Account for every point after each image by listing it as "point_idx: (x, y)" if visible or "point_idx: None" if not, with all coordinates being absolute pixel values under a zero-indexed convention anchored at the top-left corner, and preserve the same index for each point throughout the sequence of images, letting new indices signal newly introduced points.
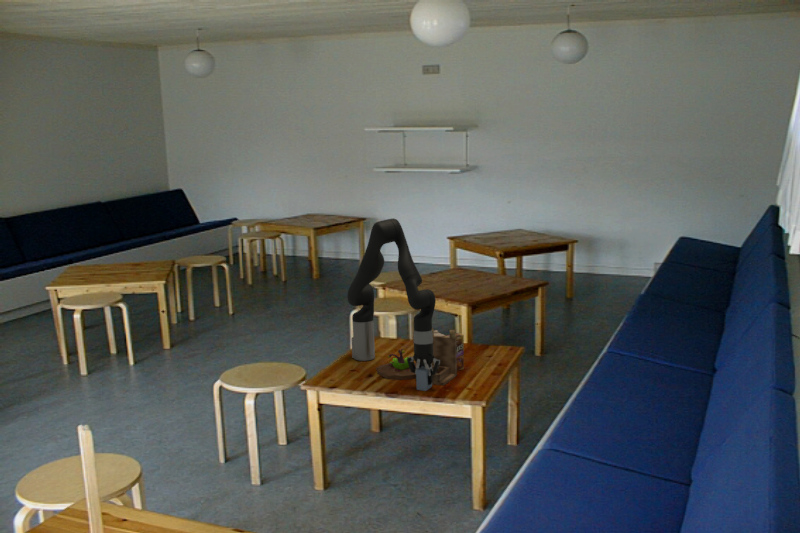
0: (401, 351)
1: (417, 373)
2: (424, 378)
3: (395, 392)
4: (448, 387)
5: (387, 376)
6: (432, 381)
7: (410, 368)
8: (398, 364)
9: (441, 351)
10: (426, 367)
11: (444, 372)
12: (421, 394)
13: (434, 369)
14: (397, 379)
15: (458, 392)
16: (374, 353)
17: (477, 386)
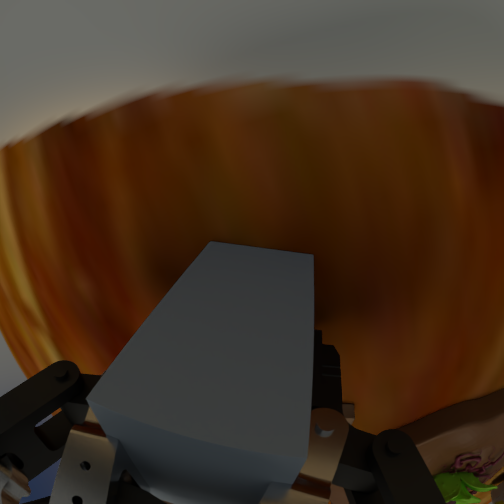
0: None
1: (283, 391)
2: (171, 314)
3: (486, 141)
4: (106, 335)
5: None
6: None
7: (423, 476)
8: (457, 492)
9: None
10: (92, 468)
11: None
12: (215, 125)
13: (22, 403)
14: (470, 404)
15: (28, 255)
16: (496, 499)
17: (31, 346)
